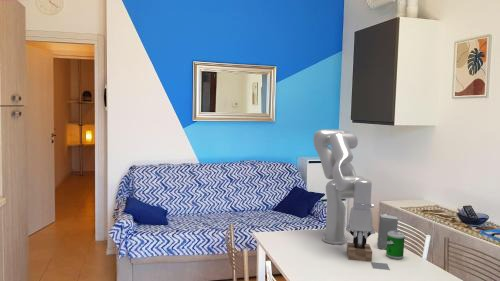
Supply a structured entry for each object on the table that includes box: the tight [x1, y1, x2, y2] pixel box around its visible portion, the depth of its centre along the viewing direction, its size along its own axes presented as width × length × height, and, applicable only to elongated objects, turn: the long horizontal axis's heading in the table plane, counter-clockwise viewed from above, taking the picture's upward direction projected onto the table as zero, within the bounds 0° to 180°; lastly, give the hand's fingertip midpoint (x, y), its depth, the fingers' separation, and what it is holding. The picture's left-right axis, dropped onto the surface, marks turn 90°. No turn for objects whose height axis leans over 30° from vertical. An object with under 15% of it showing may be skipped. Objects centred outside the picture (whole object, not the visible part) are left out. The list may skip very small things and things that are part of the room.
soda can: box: [385, 230, 406, 260], centre depth 181 cm, size 8×8×12 cm
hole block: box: [346, 241, 373, 263], centre depth 180 cm, size 10×10×5 cm
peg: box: [356, 231, 364, 249], centre depth 180 cm, size 3×3×10 cm
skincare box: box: [376, 213, 399, 250], centre depth 194 cm, size 8×7×16 cm
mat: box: [370, 261, 391, 271], centre depth 170 cm, size 7×7×1 cm
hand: (359, 245), depth 180 cm, fingers closed on peg, 3 cm apart
